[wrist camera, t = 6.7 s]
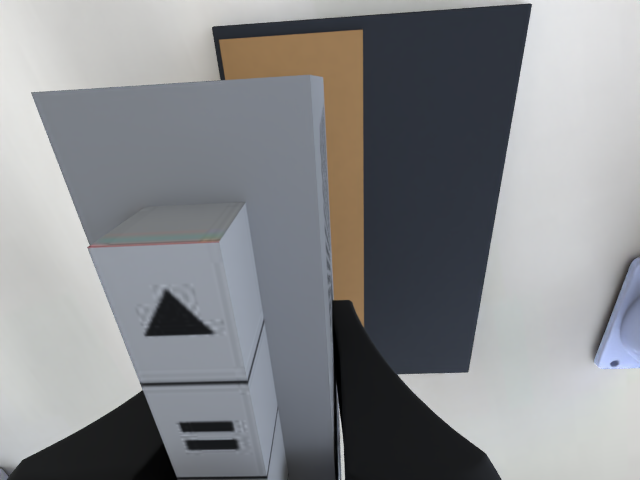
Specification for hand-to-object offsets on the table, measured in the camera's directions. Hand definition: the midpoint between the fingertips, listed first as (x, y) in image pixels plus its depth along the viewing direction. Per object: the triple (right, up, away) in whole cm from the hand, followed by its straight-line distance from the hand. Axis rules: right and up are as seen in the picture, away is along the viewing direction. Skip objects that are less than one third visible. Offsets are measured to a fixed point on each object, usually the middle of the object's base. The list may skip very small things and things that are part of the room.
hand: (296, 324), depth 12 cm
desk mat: (+3, +3, +7) cm, 8 cm away
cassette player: (0, +1, +3) cm, 3 cm away
